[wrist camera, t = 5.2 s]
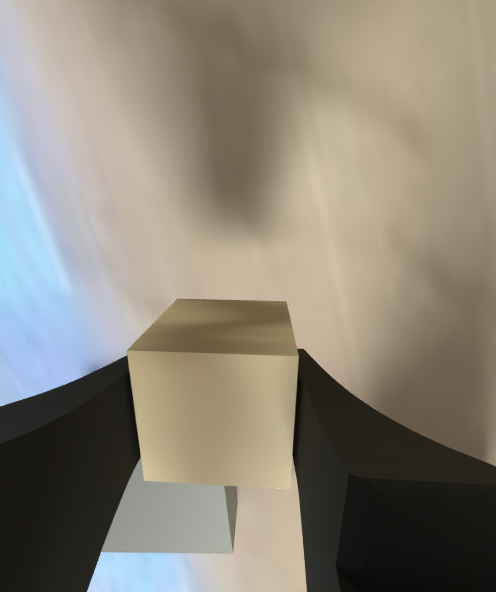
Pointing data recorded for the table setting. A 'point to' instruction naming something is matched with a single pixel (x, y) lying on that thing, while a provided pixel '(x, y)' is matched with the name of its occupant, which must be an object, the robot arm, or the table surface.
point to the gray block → (173, 518)
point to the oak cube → (217, 393)
